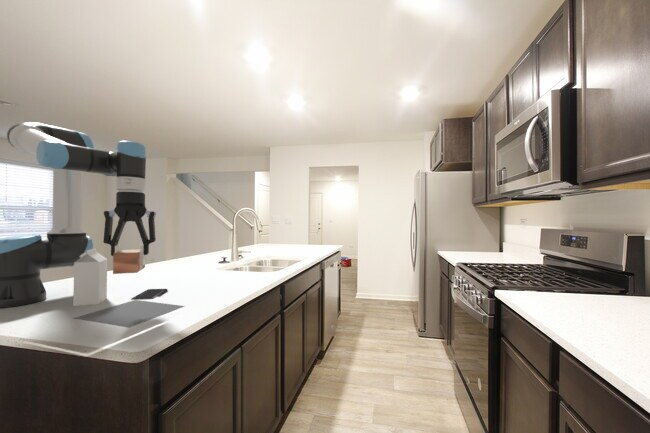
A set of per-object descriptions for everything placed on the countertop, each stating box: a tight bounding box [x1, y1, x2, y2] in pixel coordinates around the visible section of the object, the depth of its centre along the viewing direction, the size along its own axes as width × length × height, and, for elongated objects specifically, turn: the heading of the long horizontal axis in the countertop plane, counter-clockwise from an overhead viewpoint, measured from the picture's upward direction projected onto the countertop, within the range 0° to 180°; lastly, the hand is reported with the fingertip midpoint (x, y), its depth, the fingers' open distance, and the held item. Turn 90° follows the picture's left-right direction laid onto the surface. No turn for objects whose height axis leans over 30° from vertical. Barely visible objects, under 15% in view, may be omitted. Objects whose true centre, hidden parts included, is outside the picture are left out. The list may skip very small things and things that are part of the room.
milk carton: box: [72, 248, 108, 307], centre depth 101 cm, size 7×7×19 cm
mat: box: [73, 299, 185, 328], centre depth 91 cm, size 22×20×1 cm
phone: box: [130, 288, 168, 301], centre depth 112 cm, size 8×1×15 cm
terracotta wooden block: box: [112, 249, 146, 275], centre depth 90 cm, size 10×6×6 cm, turn 20°
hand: (130, 265), depth 90 cm, fingers closed on terracotta wooden block, 6 cm apart
